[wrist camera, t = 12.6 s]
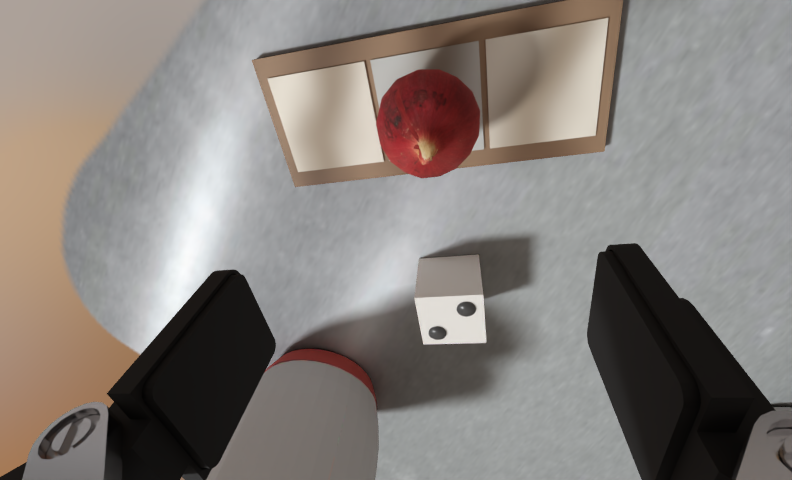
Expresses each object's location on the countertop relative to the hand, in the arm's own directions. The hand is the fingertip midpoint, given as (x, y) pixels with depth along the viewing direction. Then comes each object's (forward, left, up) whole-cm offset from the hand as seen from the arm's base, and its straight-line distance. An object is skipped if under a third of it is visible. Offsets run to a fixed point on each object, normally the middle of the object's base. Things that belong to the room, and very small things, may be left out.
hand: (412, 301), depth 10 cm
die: (0, +14, -18) cm, 23 cm away
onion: (0, -1, -18) cm, 18 cm away
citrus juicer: (+15, +28, -19) cm, 37 cm away
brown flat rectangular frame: (0, -1, -18) cm, 18 cm away
